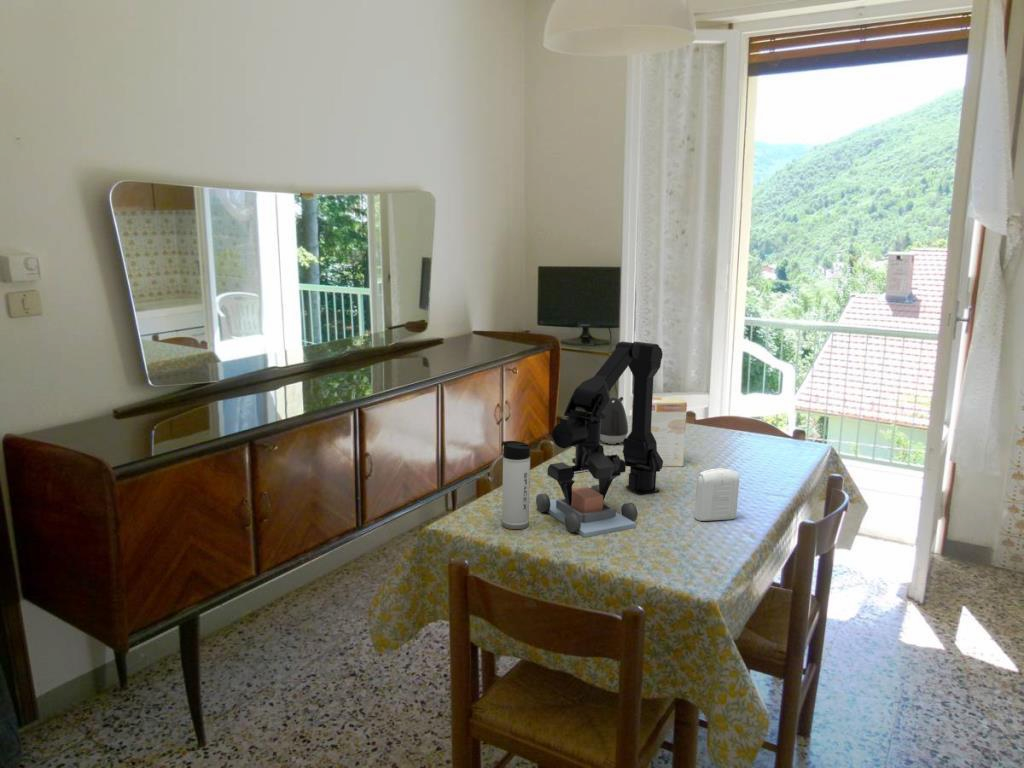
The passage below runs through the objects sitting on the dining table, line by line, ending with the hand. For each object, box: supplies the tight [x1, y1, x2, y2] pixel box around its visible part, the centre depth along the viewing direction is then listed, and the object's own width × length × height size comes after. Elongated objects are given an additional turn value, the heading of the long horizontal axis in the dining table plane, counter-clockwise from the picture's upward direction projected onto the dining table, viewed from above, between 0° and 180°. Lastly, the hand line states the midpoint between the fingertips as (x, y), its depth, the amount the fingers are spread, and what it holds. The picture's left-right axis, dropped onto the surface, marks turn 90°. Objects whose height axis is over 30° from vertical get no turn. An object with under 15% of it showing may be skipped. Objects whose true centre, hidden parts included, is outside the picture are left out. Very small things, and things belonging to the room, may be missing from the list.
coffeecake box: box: [630, 397, 688, 467], centre depth 224 cm, size 15×7×20 cm, turn 92°
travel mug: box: [501, 440, 531, 530], centre depth 175 cm, size 6×7×20 cm
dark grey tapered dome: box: [600, 396, 629, 445], centre depth 246 cm, size 10×10×15 cm
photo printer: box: [694, 467, 740, 522], centre depth 182 cm, size 10×4×12 cm, turn 103°
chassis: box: [535, 484, 639, 538], centre depth 182 cm, size 17×22×4 cm
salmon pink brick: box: [571, 486, 604, 514], centre depth 182 cm, size 5×7×5 cm
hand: (585, 502), depth 182 cm, fingers open, 9 cm apart
